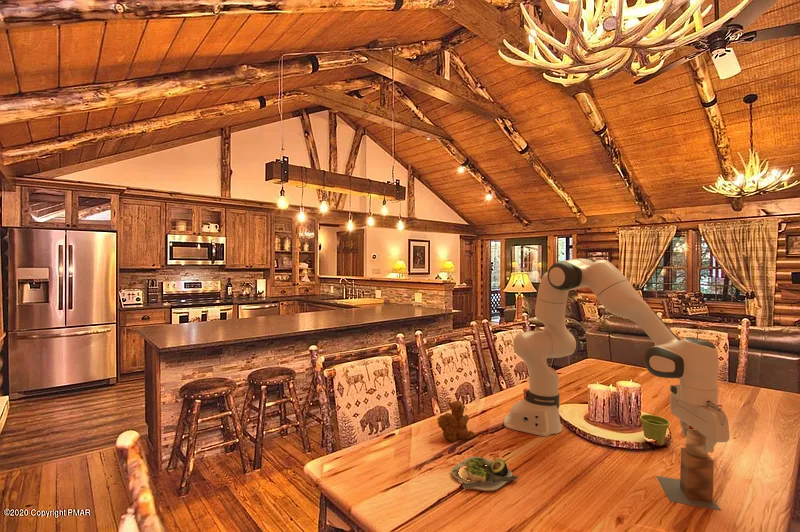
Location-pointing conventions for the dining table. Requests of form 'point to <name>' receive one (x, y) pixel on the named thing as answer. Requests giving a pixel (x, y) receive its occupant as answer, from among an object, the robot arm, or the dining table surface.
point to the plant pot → (655, 427)
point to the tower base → (696, 488)
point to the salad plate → (484, 473)
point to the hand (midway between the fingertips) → (697, 443)
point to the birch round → (696, 444)
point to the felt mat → (681, 494)
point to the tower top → (697, 466)
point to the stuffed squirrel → (455, 423)
